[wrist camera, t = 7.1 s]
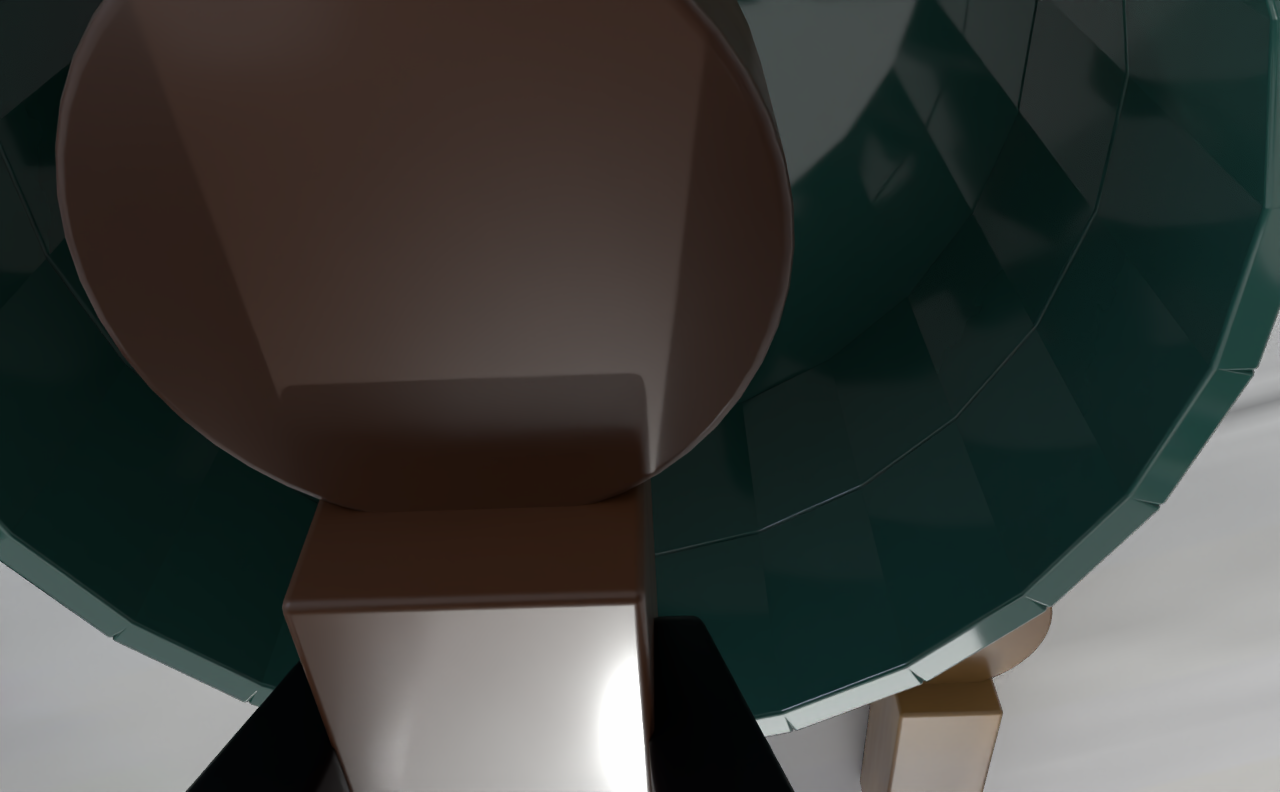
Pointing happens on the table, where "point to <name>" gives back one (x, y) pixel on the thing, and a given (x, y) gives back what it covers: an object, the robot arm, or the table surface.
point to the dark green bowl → (776, 351)
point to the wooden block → (945, 722)
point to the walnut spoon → (443, 330)
